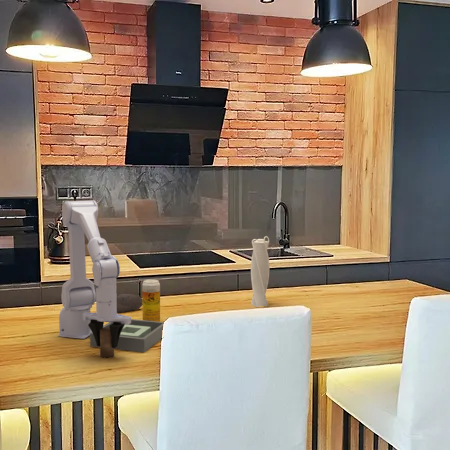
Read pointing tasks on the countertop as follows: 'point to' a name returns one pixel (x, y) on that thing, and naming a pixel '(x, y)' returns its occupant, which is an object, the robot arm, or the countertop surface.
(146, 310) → the beer can
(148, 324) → the graphite box
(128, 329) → the plate
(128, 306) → the perforated stone tool
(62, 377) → the countertop surface
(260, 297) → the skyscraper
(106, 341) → the walnut peg
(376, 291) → the countertop surface
